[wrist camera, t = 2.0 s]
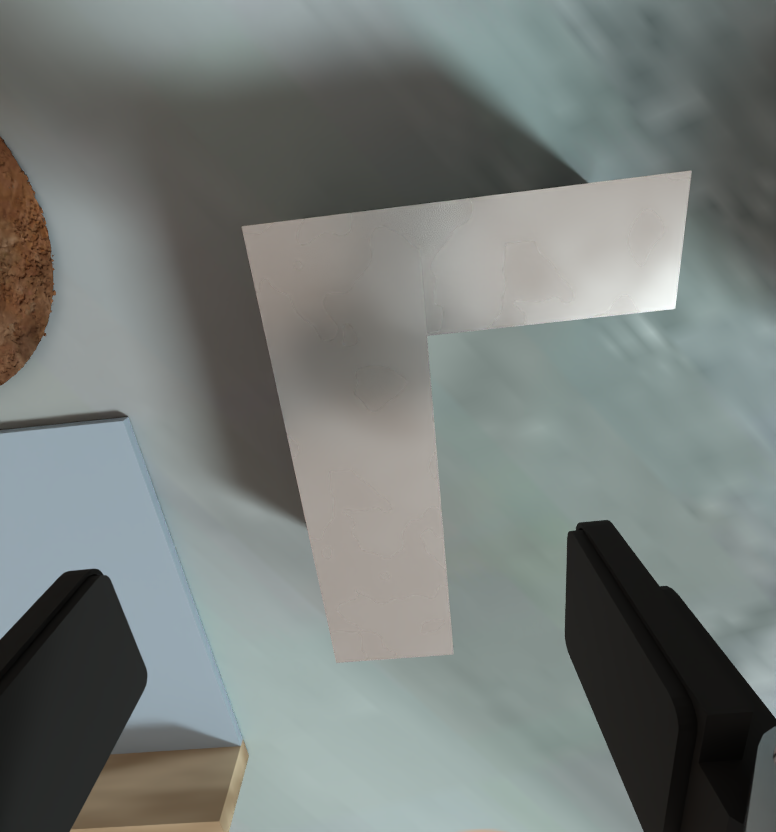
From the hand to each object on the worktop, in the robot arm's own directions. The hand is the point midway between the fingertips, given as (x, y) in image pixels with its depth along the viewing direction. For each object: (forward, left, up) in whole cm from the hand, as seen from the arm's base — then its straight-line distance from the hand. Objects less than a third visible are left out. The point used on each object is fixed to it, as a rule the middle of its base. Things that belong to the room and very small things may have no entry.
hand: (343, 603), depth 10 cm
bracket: (0, +3, -10) cm, 11 cm away
